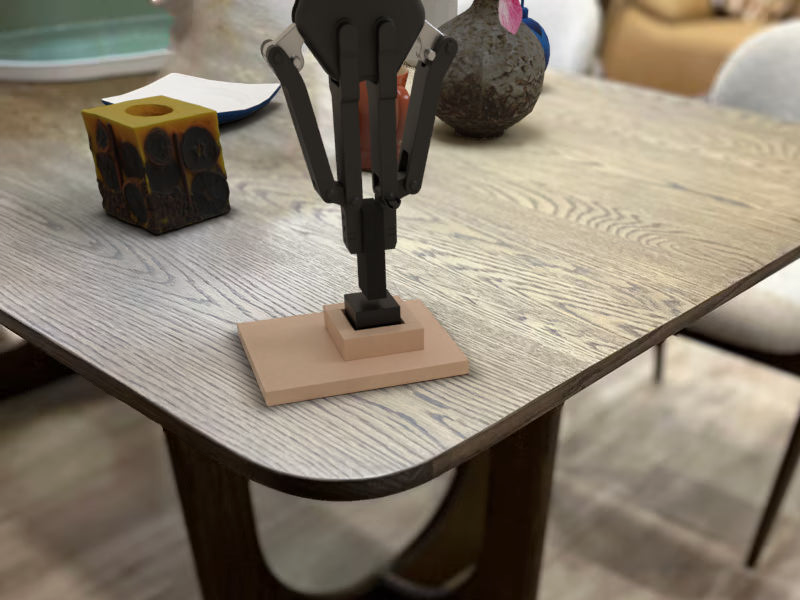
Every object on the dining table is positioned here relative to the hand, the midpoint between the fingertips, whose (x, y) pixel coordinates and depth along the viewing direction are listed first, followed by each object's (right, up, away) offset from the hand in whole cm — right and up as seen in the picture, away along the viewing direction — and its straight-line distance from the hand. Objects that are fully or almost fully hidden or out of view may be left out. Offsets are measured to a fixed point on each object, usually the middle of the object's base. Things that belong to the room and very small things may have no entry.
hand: (372, 292), depth 65 cm
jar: (+2, +72, +85) cm, 111 cm away
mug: (-3, +30, +40) cm, 50 cm away
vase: (+11, +41, +52) cm, 67 cm away
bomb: (+17, +59, +72) cm, 94 cm away
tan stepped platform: (-2, -4, +3) cm, 5 cm away
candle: (-25, +18, +26) cm, 40 cm away
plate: (-31, +47, +57) cm, 80 cm away
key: (0, -2, +2) cm, 2 cm away
